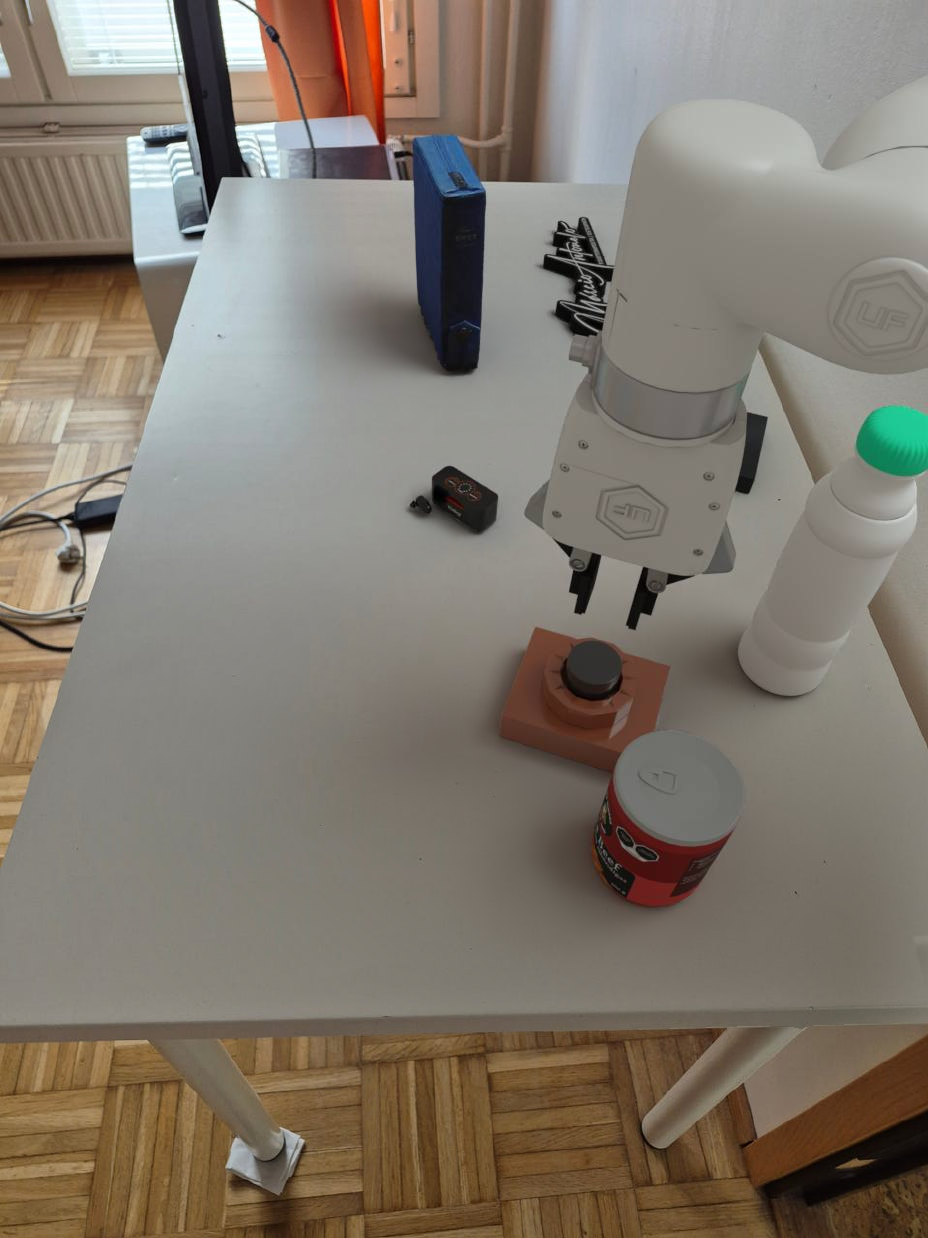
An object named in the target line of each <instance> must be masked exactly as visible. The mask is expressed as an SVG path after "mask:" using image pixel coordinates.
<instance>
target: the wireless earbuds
mask: <svg viewBox="0 0 928 1238" xmlns="http://www.w3.org/2000/svg"><path fill="white" fill-rule="evenodd" d="M431 503H432V504H433V505H434V506H435V507H437V508H439V509H440V510H442V511H443V512H445V513H447V514H448V515H449V516H451V517H452V518H454V519H455V520H457V521H459V522H460V523H461V524H463V525H464V526H466V527H467V528H469V529H470V530H472V531H474V532H475V533H483V532H484V531H485V530H487V529H488V528H489V527H490V526H492V525H493V524H494V523H495V522H496V521H497V519H498V518H497V515H498V505H499V495H498V493H496V492H495V491H494V490H491V488H488V487H487V486H485V485H484V484H482V483H481V482H479V481H477V480H476V479H474V478H472V477H471V476H469V474H466V473H465V472H463V471H462V470H460V469H458V468H456V467H455V466H453V465H445V466H444V467H442V468H441V469H440V470H438V471H437V472H436V473H434V474H433V475H432V476H431ZM431 503H430V502H429V500H428V499H427V497H425V496H424V495H423V494H421V495H418V496H417V497H416V498H415V499H413V500H412V501H411V502H410V503H409V508H411V509H413V510H416V508H418V509H419V510H420V512H421V513H422V514H424V515H431V513H432V512H433V506H432V504H431Z"/></svg>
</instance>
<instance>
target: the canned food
mask: <svg viewBox="0 0 928 1238" xmlns="http://www.w3.org/2000/svg"><path fill="white" fill-rule="evenodd" d="M745 804H746V789H745V783H744V780H743V778H742V775H741V773H740V771H739V769H738V767H737V766H736V765H735V763H734V762H733V760H732V759H731V757H729V755H727V754H726V752H724V751H723V750H722V749H720V748H719V747H718V746H717V745H716V744H714V743H713V742H711V741H709V740H707V739H705V738H704V737H702V736H699V735H696V734H693V733H691V732H687V731H681V730H676V729H675V730H671V729H663V730H654V732H651V733H648V734H645V735H642V736H640V737H639V738H637V739H635V740H634V741H632V742H631V743H630V744H629V745H628V746H627V747H626V748H625V750H624V751H623V753H622V754H621V756H620V757H619V759H618V761H617V763H616V766H615V768H614V771H613V772H612V774H611V777H610V780H609V783H608V786H607V788H606V792H605V795H604V798H603V800H602V803H601V807H600V810H599V813H598V816H597V819H596V822H595V825H594V828H593V830H592V834H591V840H590V851H591V852H590V853H591V857H592V860H593V864H594V868H595V869H596V872H597V873H598V875H599V877H600V879H601V880H602V881H603V882H604V884H605V885H606V887H608V888H609V890H611V891H612V892H613V893H614V894H616V895H617V896H619V897H620V898H622V899H624V900H625V901H627V902H630V903H632V904H635V905H638V906H642V907H649V908H650V907H651V908H660V907H661V908H662V907H666V906H670V905H673V904H676V903H678V902H682V901H684V900H685V899H686V898H688V897H690V896H691V895H692V894H693V893H694V892H695V891H696V889H697V888H699V886H700V884H701V882H702V881H703V880H704V878H705V876H706V875H707V873H708V871H709V870H710V869H711V867H712V865H713V864H714V862H715V861H716V859H717V858H718V857H719V855H720V853H721V852H722V850H723V848H724V847H725V846H726V844H727V843H728V841H729V839H730V838H731V836H732V835H733V832H734V831H735V829H736V827H737V825H738V824H739V823H740V820H741V818H742V815H743V813H744V809H745V806H746V805H745Z"/></svg>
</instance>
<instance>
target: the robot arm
mask: <svg viewBox="0 0 928 1238" xmlns="http://www.w3.org/2000/svg"><path fill="white" fill-rule="evenodd" d="M609 288H610V289H609V292H608V297H607V302H608V303H607V302H606V303H607V308H606V314H605V319H604V324H603V330H602V331H600V330H599V332H598V334H597V336H593V335H589V337H585V336H581V335H577V334H573V337H572V340H571V344H570V346H569V353H568V361H571V362H576V363H579V364H581V367H583V368H585V367H586V368H587V369H588V371H587V373H586V374H585V375H584V377H583V379H582V380H581V382H580V383H579V385H578V387H577V388H576V390H575V392H574V395H573V397H572V398H571V401H570V404H569V406H568V409H567V411H566V415H565V418H564V421H563V424H562V427H561V431H560V434H559V437H558V442H557V446H556V451H555V455H554V458H553V462H552V467H551V471H550V475H549V476H550V477H549V479H548V480H547V481H546V482H544V484H542V485H541V487H540V488H538V489H537V491H536V492H535V493H534V494H533V495H532V496H531V497H530V498H529V500H528V502H527V505H526V507H525V509H524V511H523V515H524V518H526V519H527V520H528V521H530V522H531V523H533V524H534V525H536V526H537V527H539V528H540V529H542V530H543V531H544V532H545V533H546V534H547V535H548V536H549V537H550V538H551V539H552V540H553V541H554V542H555V543H556V545H558V547H559V548H560V549H561V551H563V552H564V553H565V555H567V557H568V558H569V559H568V566H569V568H570V569H572V574H571V579H570V584H569V589H568V593H570V594H572V595H576V601H575V606H574V609H573V610H574V611H573V613H574V614H575V615H580V616H582V615H583V614H586V611H587V608H588V605H589V603H590V600H591V597H592V594H593V591H594V588H595V585H596V582H597V577H598V572H599V569H600V565H601V560H602V557H607V558H609V559H614V560H617V561H621V562H624V563H628V564H632V565H636V566H639V567H642V568H641V571H640V575H639V578H638V581H637V584H636V588H635V591H634V595H633V599H632V602H631V606H630V609H629V613H628V615H627V619H626V623H625V627H627V629H628V630H632V631H636V630H637V627H638V624H639V620H640V616H641V614H643V615H646V616H650V617H651V616H653V615H652V614H653V611H654V610H655V609H654V608H655V606H656V602H657V600H658V596H659V594H661V593H663V592H665V591H666V589H667V586H670V585H672V584H675V583H678V582H682V581H684V580H688V579H691V578H694V577H695V576H699V575H701V574H702V575H712V574H728V573H731V572H732V571H733V569H734V566H735V561H736V558H737V557H736V556H737V551H736V548H735V545H734V541H733V537H732V534H731V531H730V529H729V524H728V522H727V518H728V515H729V511H730V508H731V506H732V501H733V498H734V495H735V492H736V490H735V488H736V485H737V481H738V477H739V473H740V469H741V464H742V459H743V453H744V447H745V439H746V422H747V412H748V410H747V406H746V404H745V401H744V400H743V399H742V397H743V394H744V391H745V388H746V386H747V383H748V379H749V377H750V374H751V371H752V368H753V365H754V362H755V359H756V355H757V354H758V351H759V347H760V344H761V342H762V338H763V336H764V333H766V334H769V335H771V336H773V337H775V338H777V339H780V340H782V341H784V342H785V343H787V344H790V345H792V346H794V347H796V348H798V349H800V350H803V351H805V352H807V353H809V354H811V355H813V356H815V357H817V358H820V359H822V360H824V361H827V362H828V363H832V364H834V365H837V366H840V367H843V368H846V369H848V370H851V371H857V372H860V373H861V372H862V373H866V374H872V375H887V376H888V375H904V374H908V373H909V374H910V373H914V372H918V371H922V370H924V369H928V74H927V75H924V76H922V77H920V78H918V79H916V80H914V81H911V82H909V83H907V84H905V85H903V86H902V87H900V88H898V89H896V90H894V91H892V92H890V93H889V94H887V95H885V96H884V97H882V98H881V99H878V100H877V101H876V102H875V103H873V104H872V105H871V106H869V107H867V108H866V109H865V110H863V111H862V112H861V113H859V114H858V115H856V117H855V118H854V119H853V120H852V121H851V122H849V124H848V125H847V126H846V127H844V129H843V130H842V131H841V132H840V133H839V134H838V136H837V138H836V139H835V140H834V142H833V143H832V144H831V146H830V147H829V148H828V150H827V152H826V155H825V156H824V157H823V160H822V163H821V164H820V163H819V160H818V154H817V150H816V146H815V144H814V141H813V139H812V137H811V135H810V134H809V133H808V132H807V130H806V129H805V128H804V127H803V126H802V125H801V123H799V122H798V121H796V120H795V119H793V118H792V117H790V116H789V115H786V113H783V112H781V111H778V110H776V109H774V108H771V107H768V106H765V105H762V104H760V103H756V102H755V103H754V102H751V101H745V100H742V99H741V100H740V99H733V98H700V99H690V100H685V101H682V102H680V103H677V104H673V105H672V106H670V107H667V108H666V109H664V110H663V111H661V112H659V113H658V114H657V115H656V116H654V117H653V118H652V120H650V122H649V123H648V124H647V125H646V127H645V129H644V130H643V132H642V134H641V136H640V137H639V140H638V141H637V145H636V147H635V152H634V157H633V160H632V165H631V169H630V174H629V180H628V186H627V192H626V198H625V203H624V209H623V215H622V221H621V226H620V231H619V237H618V243H617V249H616V254H615V260H614V270H613V276H612V281H610V287H609Z"/></svg>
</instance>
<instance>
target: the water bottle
mask: <svg viewBox="0 0 928 1238" xmlns="http://www.w3.org/2000/svg"><path fill="white" fill-rule="evenodd" d="M853 449H854V450H853V451H854V455H853V456H851V457H849V458H847V459H845V460H844V461H842V462H840V464H839V465H838V466H837V467H835V468H834V469H832V470H831V471H829V472H828V473H826V474H825V475H824V476H822V477H821V478H819V480H817V482H816V483H814V485H813V486H812V488H810V489H811V490H810V491H809V493H808V495H807V498H806V500H805V504H804V510H803V511H802V513H801V515H800V517H799V518H798V520H797V522H796V524H795V525H794V527H793V529H792V531H791V532H790V535H789V536H788V539H787V541H786V543H785V545H784V547H783V549H782V551H781V553H780V556H779V558H778V560H777V562H776V564H775V567H774V569H773V572H772V574H771V578H770V580H769V583H768V587H767V589H766V591H764V593H763V594H762V596H761V597H760V599H759V601H758V603H757V604H756V607H755V610H754V612H753V616H752V619H751V621H750V622H749V624H748V625H747V627H746V629H745V630H744V632H743V634H742V637H741V638H740V641H739V644H738V648H737V656H738V662H739V664H740V667H741V669H742V671H743V673H745V675H746V676H747V678H748V679H749V680H750V681H752V683H754V684H755V685H757V686H758V687H760V688H761V689H763V690H765V691H767V692H769V693H772V694H775V695H779V696H785V697H787V696H788V697H794V696H795V697H796V696H801V695H805V694H808V693H810V692H812V691H813V690H815V689H816V688H817V687H819V685H820V684H821V682H823V680H824V679H825V676H826V675H827V673H828V671H829V669H830V668H831V665H832V663H833V661H834V658H835V657H836V656H837V655H838V654H839V653H840V652H841V650H842V648H843V646H844V645H845V643H846V642H847V640H848V638H849V636H850V633H851V630H852V628H853V626H854V625H855V624H856V623H857V622H858V620H859V619H860V618H861V616H862V615H863V613H864V612H865V610H866V609H867V608H868V607H869V605H870V603H871V602H872V600H873V598H874V597H875V595H876V593H877V592H878V591H879V589H880V587H881V586H882V584H883V582H884V580H885V579H886V577H887V575H888V574H889V571H890V570H891V568H892V566H893V564H894V563H895V560H896V558H897V557H898V553H899V552H900V550H902V548H904V547H905V545H906V544H907V543H908V542H909V541H910V539H911V538H912V536H913V535H914V532H915V529H916V526H917V522H918V506H917V505H918V504H917V496H918V488H917V483H916V482H917V481H916V479H919V478H921V477H922V476H923V475H924V474H925V473H926V471H928V415H926V413H924V412H921V411H920V410H918V409H917V410H916V409H915V408H912V407H911V408H910V407H909V406H904V405H887V406H886V405H885V406H882V407H879V408H876V409H874V410H872V411H871V412H870V413H869V415H867V417H866V418H865V420H864V421H863V423H862V424H861V427H860V429H859V430H858V433H857V436H856V439H855V444H854V448H853Z"/></svg>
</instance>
